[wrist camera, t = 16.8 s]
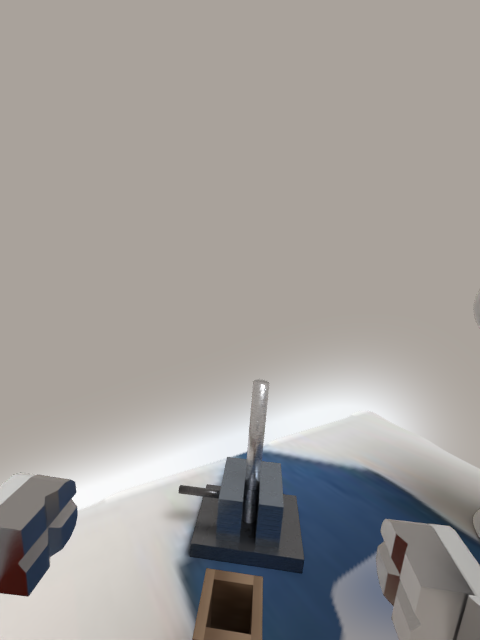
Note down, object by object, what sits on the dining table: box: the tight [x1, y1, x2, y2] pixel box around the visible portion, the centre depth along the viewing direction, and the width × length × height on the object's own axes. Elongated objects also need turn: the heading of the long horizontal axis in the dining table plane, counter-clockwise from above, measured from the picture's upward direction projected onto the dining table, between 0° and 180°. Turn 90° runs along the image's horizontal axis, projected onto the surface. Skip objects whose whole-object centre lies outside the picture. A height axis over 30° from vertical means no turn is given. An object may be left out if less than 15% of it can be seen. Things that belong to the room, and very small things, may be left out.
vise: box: [179, 380, 304, 573], centre depth 39 cm, size 17×10×22 cm, turn 85°
